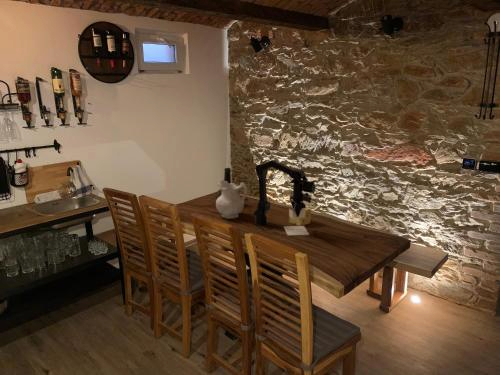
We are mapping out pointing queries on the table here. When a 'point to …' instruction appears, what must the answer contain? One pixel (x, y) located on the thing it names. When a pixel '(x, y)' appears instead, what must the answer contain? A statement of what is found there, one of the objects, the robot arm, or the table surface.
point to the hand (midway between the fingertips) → (296, 215)
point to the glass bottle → (226, 178)
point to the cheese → (302, 220)
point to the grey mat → (295, 230)
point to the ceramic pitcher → (230, 199)
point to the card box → (293, 213)
